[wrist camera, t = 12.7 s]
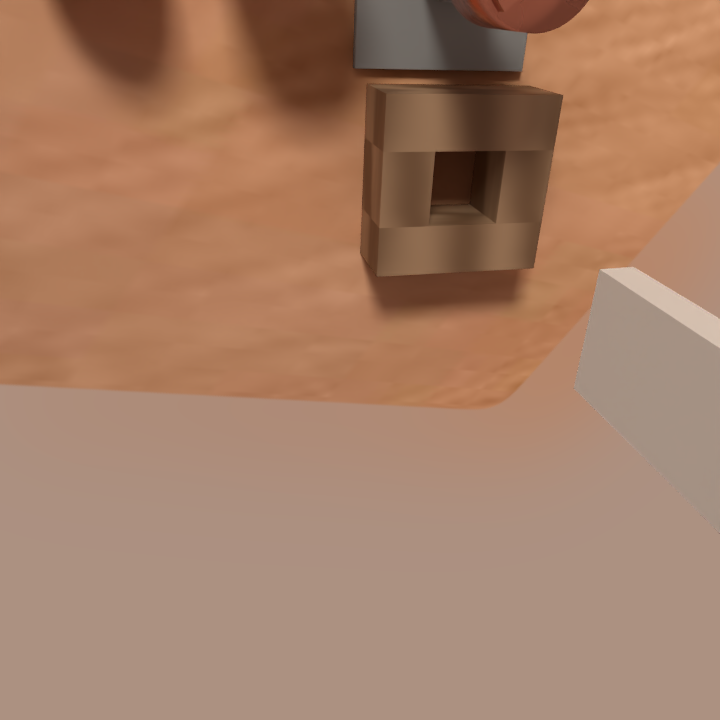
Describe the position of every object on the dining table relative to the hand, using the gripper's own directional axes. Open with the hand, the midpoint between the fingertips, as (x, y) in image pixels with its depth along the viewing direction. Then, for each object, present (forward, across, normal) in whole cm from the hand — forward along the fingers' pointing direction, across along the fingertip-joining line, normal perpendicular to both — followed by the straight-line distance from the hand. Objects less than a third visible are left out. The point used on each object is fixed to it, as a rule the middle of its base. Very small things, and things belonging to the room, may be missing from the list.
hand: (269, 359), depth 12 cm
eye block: (+36, +17, -6) cm, 40 cm away
